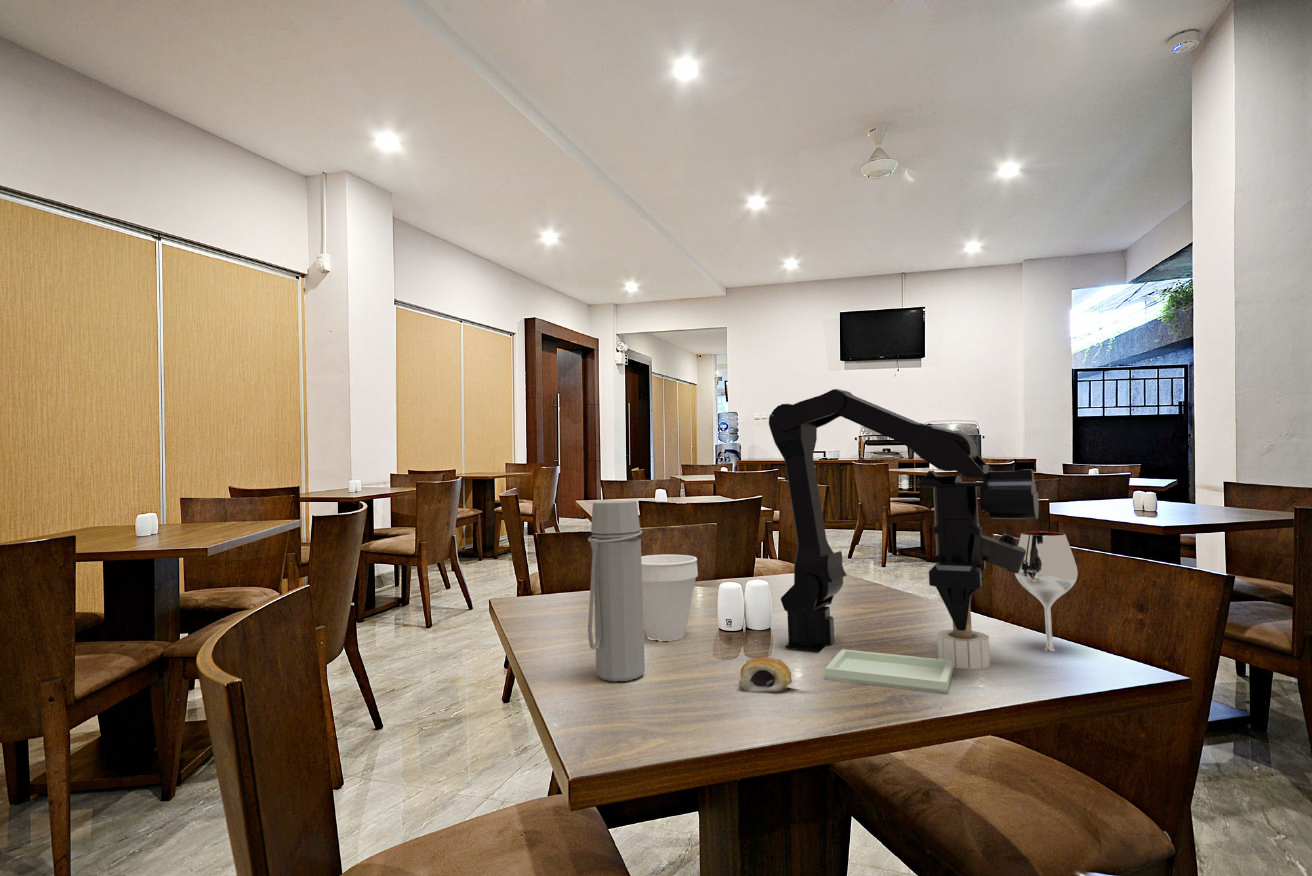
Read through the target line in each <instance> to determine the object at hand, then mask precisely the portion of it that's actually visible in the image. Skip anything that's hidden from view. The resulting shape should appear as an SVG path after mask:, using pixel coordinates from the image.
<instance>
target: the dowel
mask: <svg viewBox="0 0 1312 876" xmlns="http://www.w3.org/2000/svg"><path fill="white" fill-rule="evenodd" d="M971 612H972V609H971V604H970V605H969V612H968V619H967V625H966V630H965V631H961V630H957V628H956V626H955V624H954V622H953V621H952V630H953V635H954V637H955V638H962V639H972V631H973V630H972V628H973V627H972V613H971Z"/></svg>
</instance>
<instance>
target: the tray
mask: <svg viewBox="0 0 1312 876" xmlns="http://www.w3.org/2000/svg"><path fill="white" fill-rule="evenodd" d="M954 669H955V667H953V660H945V659H938V658H934V657H933V658H932V657H923V656H922V657H921V656H915V655H914V656H913V655H902V654H894V653H882V652H872V651H862V650H855V649H854V650H852V649H843V648H842V649H841V650H840V651H839V652H838V653H837V654H836V655H835V656H834V658H832V659H831V661H830V662H829V663H828V664H827V666H826V667H825V668H824V678H825V679H824V680H827V681H828V680H829V681H836V682H842V683H843V682H844V683H852V684H862V685H868V686H877V687H883V688H884V687H885V688H893V689H901V690H909V691H911V690H912V691H918V692H926V693H927V692H928V693H933V694H935V693H936V694H942V695H948V694H949V691H950V690H949V689H950V686H951V683H952V679H953V676H954V672H955V670H954Z"/></svg>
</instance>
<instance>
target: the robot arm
mask: <svg viewBox="0 0 1312 876" xmlns="http://www.w3.org/2000/svg"><path fill="white" fill-rule="evenodd" d="M840 417H842V418H844V419H846V420H849V421H850V422H853V423H855V424H858V425H860V426H862V427H864V428H866V429H868V430H871V431H874V432H876V433H878V434H880V435H882V436H885V437H887V438H890V439H891V440H893V441H896V442H898V443H900V444H903V445H904V446H905V447H907V448H908V449H909V450H911V451H912V453H915V454H916V455H917V456H918V457H920V458H921V459H922V460H924V461H926V462H927V463H928V464H930V465H931V466H933V467H935V468H936V469H938V470H941V471H944V472H957V473H959V474H960V475H962V476H964V477H966V478H967V479H971V478H972V479H973V478H974V479H975V478H976V479H977V478H981V479H982V481H973V482H972V481H970V482H967V481H964V482H963V481H962V478H961V476H960V475H958V474H952V475H951V474H950V475H948V474H945V475H941V474H940V475H939V474H938V473H936V471H935V470H928V471H927V473H926V475H925V476H924V477H923V478H922V479H921V480H920V481H918V483H917V486H918V487H919V488H933V489H932V490H933V493H932V494H933V507H934V508H933V510H934V513H933V514H934V525H933V534H934V535H935V545H936V546H935V547H936V548H935V550H936V554H935V555H934V562H935V564H934V565H933V566H931V568H930V569H929V570H928V581H929V582H928V583H929V586H931V587H935V588H936V590H937V592H938V594H939V596H940V597H941V600H942V602H943V603H944V605H945V608H946V610H947V611H948V614H949V615H950V618H951V621H952V623H953V622H954V624H955V626H956V628H957V630H961V631H965V630H966V625H967V619H968V612H969V605H970V606H971V602H972V597H973V596H972V595H973V594H974V593H975V592H976V591H978V590H979V589H981V588H982V585H983V582H982V581H983V579H984V576H985V575H984V574H982V571H984V572H985V571H986V563H989V564H992V565H995V566H998V567H1000V568H1003V569H1006V571H1007V572H1010V573H1012V574H1015V573H1016V574H1018V573H1019V571H1020V568H1021V565H1022V563H1023V560H1024V557H1025V554H1026V550H1025V549H1024V548H1022V547H1020V546H1019V547H1018V545H1017V541H1016V536H1013V535H1010V534H1007V533H1003V534H1002V535H1001V536H1000V537H998V538H996V537H991V536H987V535H985V534H983V527H982V526H980V523H979V509H978V508H979V506H978V491H977V490H978V487H979V503H980V509H981V511H982V512H984V513H989V517H990V519H992V520H993V519H997V520H999V519H1001V520H1038V518H1039V513H1040V512H1039V511H1040V509H1039V508H1040V507H1039V506H1040V505H1039V503H1040V502H1039V492H1038V491H1037V486H1036V480H1035V475H1034V469H1032V468H1031V469H1030V468H1028V469H1027V468H1026V469H1018V470H1017V469H1016V470H1003V471H1002V470H1001V471H1000V470H999V471H993V470H992V469H991V467H990V466H989V464H987V463H986V462H985V461H984V460H983V458H982V457H981V456H980V455H979V454H978V446H977V443H976V441H975V439H973V437H972V436H970V435H969V434H967V433H964V432H961V431H957V430H953V429H952V430H951V429H947V428H945V427H944V428H943V427H939V426H934V425H930V424H926V423H922V422H921V423H920V422H918V421H915V420H913V419H911V418H908V417H906V416H903V415H901V414H899V413H896V412H894V411H892V410H889V409H887V408H884V407H882V406H880V405H877V404H875V403H872V402H871V401H867V400H865V399H862V398H861V397H858V396H856V395H854V394H852V392H849V391H848V390H843V389H838V388H834V389H831V390H829V391H826V392H825V393H822V394H820V395H818V396H813V397H810V398H808V399H804V400H801V401H798V402H796V403H793V404H792V403H782V404H780V405H777V406H776V407H775V408H774V409H773V411H772V412H771V413H770V414H769V417H768V427H769V429H770V434H771V435H772V439H773V442H774V444H775V446H776V449H778V451H779V453H780V455H781V457H782V458H783V460H784V465H785V469H786V476H787V483H788V489H789V495H790V500H791V506H792V508H791V509H792V514H793V520H794V521H793V522H794V526H795V534H796V539H797V550H796V555H795V559H794V564H793V566H794V567H793V573H794V574H793V577H794V578H793V585H792V586H791V587H790V588H788V590H787V591H786V592H785V593H784V594H783V595H782V596H780V601H781V605H782V607H783V610H784V611H785V612H787V613H786V614H787V632H788V633H787V637H788V638H787V640H788V642H787V643H786V644H785V646H784V647H785V648H786V649H791V650H802V651H810V652H822V650H824V648H825V647H827V646H832V645H833V644H834V643H835V621H834V619H835V618H834V617H833V616H831V611H830V610H831V608H830V606H828V605H831V604H832V602H833V599H834V596H835V595H837V593H839V592H840V590H841V589H842V588H843V584H844V577H847V573H846V572H845V569H844V566H843V553H842V551H840V550H839V551H836V552H834V551H833V548H831V546H830V544H829V542H828V540H827V535H826V529H825V528H826V527H825V523H824V516H823V508H822V504H821V499H820V491H819V485H818V480H817V479H818V478H817V473H816V468H815V462H814V452H815V448H816V444H817V440H818V439H817V438H818V437H817V435H818V434H817V433H818V431H817V430H818V428H820V427H823V426H825V425H828V424H829V423H831V422H833V421H835V420H836V419H838V418H840Z"/></svg>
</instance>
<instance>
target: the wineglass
mask: <svg viewBox="0 0 1312 876" xmlns="http://www.w3.org/2000/svg"><path fill="white" fill-rule="evenodd" d="M1019 537H1020V538H1019V541H1018V544H1017V546H1018V547H1019V546H1020V547H1022V548H1024V549H1025V550H1026V554H1025V557H1024V560H1023V563H1022V565H1021V568H1020V571H1019V573H1018V574H1016V573H1014V576H1015V577H1016V578H1015V579H1016V580H1017V581H1018V582H1019V584H1020V585H1021V586H1022V587H1023V588H1024V589H1025V590H1027V592H1029V593H1030V594H1031V595H1032V596H1033V597H1035V598H1036V599H1037V600H1038V601H1039V602H1040V603H1041V604H1042V606H1043V608H1044V620H1045V621H1044V623H1045V624H1044V625H1045V641H1046V643H1045V648H1044V651H1047V652H1056V650H1055V646H1054V640H1053V630H1052V629H1053V628H1052V627H1053V626H1052V625H1053V624H1052V610H1051V608H1052V606H1053V605H1054V603H1055V602H1056V601H1057V600H1058V599H1059V598H1061V597H1062V596H1063V595H1064V594H1066V593H1067V592H1068V591H1070V589H1072V588H1073V586H1074V585H1075V584H1076V582H1077V579H1078V574H1079V573H1078V566H1077V564H1076V561H1075V557H1074V554H1073V552H1072V549H1071V546H1070V545H1071V544H1070V543H1069V541H1068V538H1067V535H1066V534H1065V533H1063V532H1057V531H1056V532H1052V531H1026V532H1022V533H1020V536H1019Z"/></svg>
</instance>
